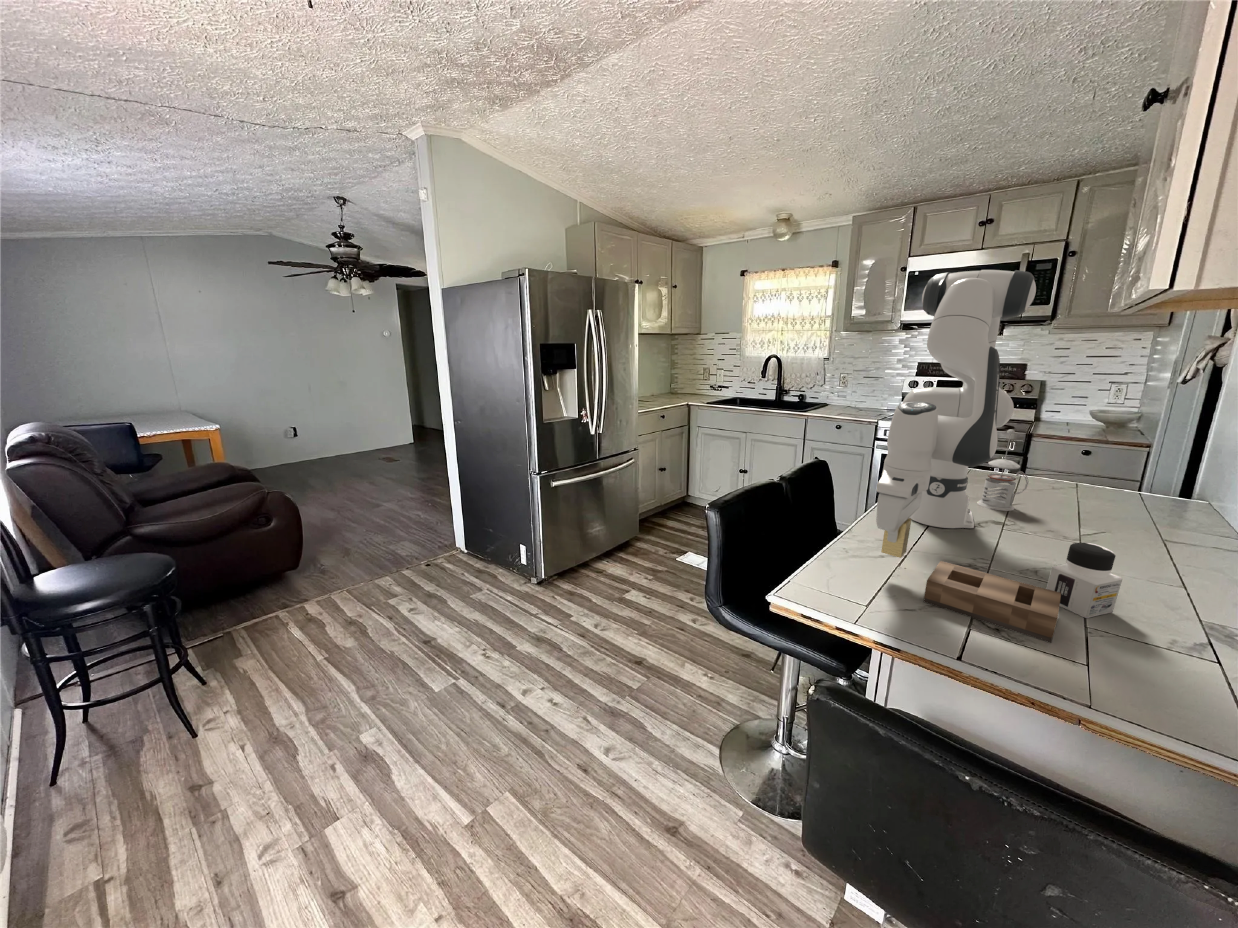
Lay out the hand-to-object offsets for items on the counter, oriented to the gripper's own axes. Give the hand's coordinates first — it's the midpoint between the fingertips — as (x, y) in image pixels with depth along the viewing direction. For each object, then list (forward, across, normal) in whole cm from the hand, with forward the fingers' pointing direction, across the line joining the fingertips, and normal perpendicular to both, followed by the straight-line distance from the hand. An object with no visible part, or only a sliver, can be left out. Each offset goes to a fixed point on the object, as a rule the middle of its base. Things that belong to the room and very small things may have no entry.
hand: (896, 537), depth 108 cm
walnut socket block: (+9, +2, +18) cm, 21 cm away
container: (+10, -12, +31) cm, 35 cm away
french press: (+11, -75, +11) cm, 77 cm away
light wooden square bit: (+4, 0, 0) cm, 4 cm away
